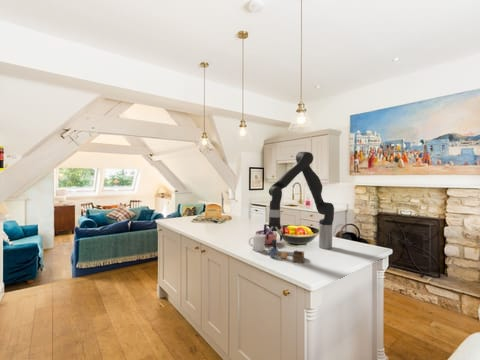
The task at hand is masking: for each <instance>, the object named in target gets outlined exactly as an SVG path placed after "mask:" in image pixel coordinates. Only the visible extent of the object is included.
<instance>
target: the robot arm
mask: <svg viewBox="0 0 480 360" xmlns="http://www.w3.org/2000/svg"><path fill="white" fill-rule="evenodd" d="M313 161H314V155H313V154H312V153H311V152H309V151H299V152H298V153H296V155H295V162H296V164H295V165H293V167H291V168H290V169H288V170H287V171H285V173H283V175H282V176H281V177H280V178H278V180H277V181H276V182H274V183H273V184H272V185H270V187H269V188H268V194H269V196H271V200H270V202H269V210H268V224H267V223H264V225H263V230H264V233H266V239H267V240H269V234H268V233H269V232H270V231H275V232H276V233H278V234H279V241H280V242H281V241H282V240H283V235H286V225H285V224H283V225H282V224H281V202H282V197H283V189H284V188H287V186H289V184H291V183H292V181H293V180H294V179H295V178H296V177H297V176H298V175H299V174H300V173H301V172H302V175H303V178H304V180H305V181H306V184H307V187H308V189H309V191H310V193H311V195H312V198H313V202H314V204H315V207H316V211H317V212H318V213H319V214H320V215H323V218H321V219H319V221H318V223H319V224H318V225H319V226H318V227H319V228H318V247H319V248H320V249H323V250H330V249H333V222H334V216H335V207H334V204H333V203H331V202H325V201H324V199H323V196H322V192H323V184H322V182H321V179H320V177H319V176H318V174H317V173H315V171H314V170H313V169H312V167H311V166H310V165H311V164H312V163H313ZM266 228H268V229H269V230H268V231H266ZM281 229H282V230H281Z"/></svg>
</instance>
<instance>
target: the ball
mask: <svg viewBox="0 0 480 360" xmlns="http://www.w3.org/2000/svg"><path fill="white" fill-rule="evenodd" d="M287 257H288V256H287V254H286V253H285V252H282V253H281V255H280V258H281V259H284V260H285V259H287Z"/></svg>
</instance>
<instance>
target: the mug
mask: <svg viewBox="0 0 480 360" xmlns="http://www.w3.org/2000/svg"><path fill="white" fill-rule="evenodd" d="M248 238H249V239H248V244H249V246H250V247H252V251H254V252H263V251H265V249H266V248H265V247H266V246H265V245H266V244H265V235H262V234H256V233H255V234H253V235H252V236H250V237H248ZM251 240H252V241H251Z"/></svg>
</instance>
